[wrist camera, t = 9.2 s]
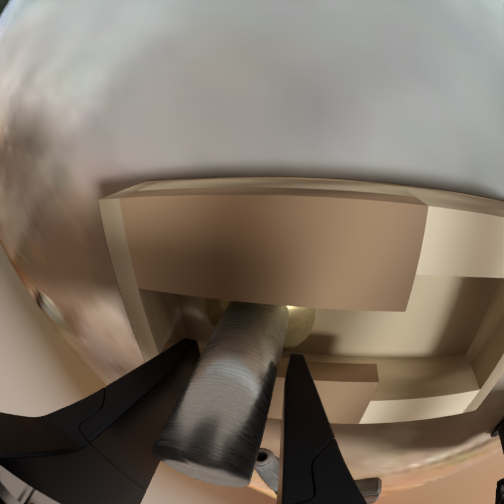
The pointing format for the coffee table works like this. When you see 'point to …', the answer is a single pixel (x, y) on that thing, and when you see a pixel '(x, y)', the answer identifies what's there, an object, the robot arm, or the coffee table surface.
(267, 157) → the coffee table surface
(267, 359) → the peg
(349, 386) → the keyhole board
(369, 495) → the handgun
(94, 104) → the coffee table surface
